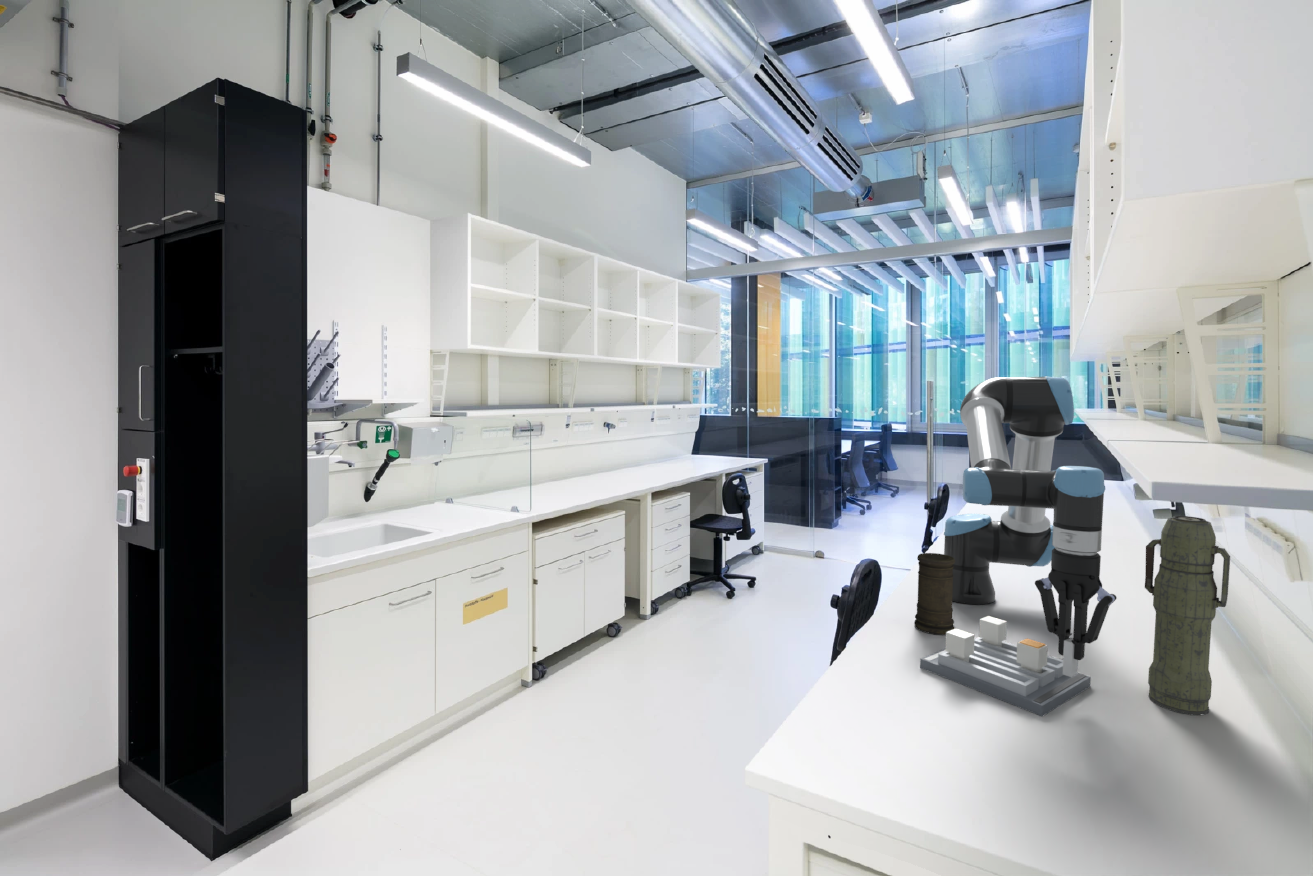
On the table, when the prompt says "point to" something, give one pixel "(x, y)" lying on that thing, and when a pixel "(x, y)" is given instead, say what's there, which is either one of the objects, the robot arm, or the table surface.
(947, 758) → the table surface
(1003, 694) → the panel
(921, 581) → the container
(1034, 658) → the handle
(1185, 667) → the thermos
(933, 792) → the table surface
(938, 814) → the table surface
